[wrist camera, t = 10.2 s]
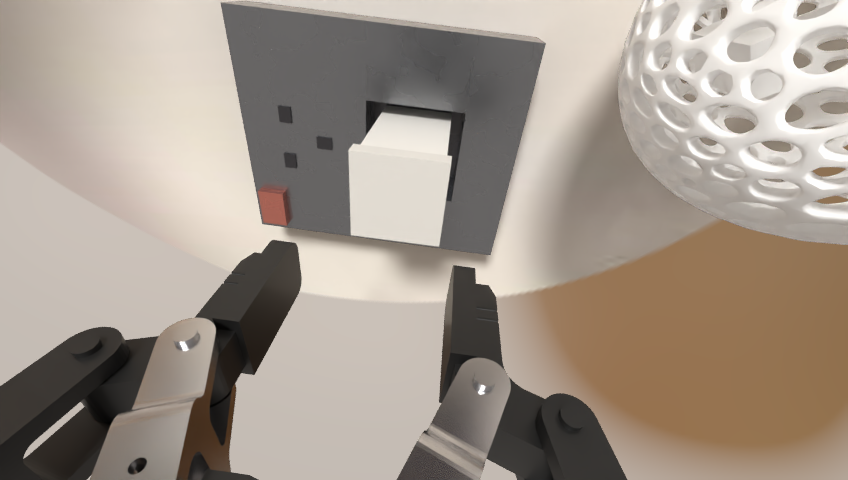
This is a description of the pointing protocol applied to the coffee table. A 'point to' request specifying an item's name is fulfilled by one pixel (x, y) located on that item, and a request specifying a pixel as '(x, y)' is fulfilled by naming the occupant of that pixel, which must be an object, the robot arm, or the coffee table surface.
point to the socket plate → (375, 109)
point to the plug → (401, 177)
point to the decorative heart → (741, 110)
